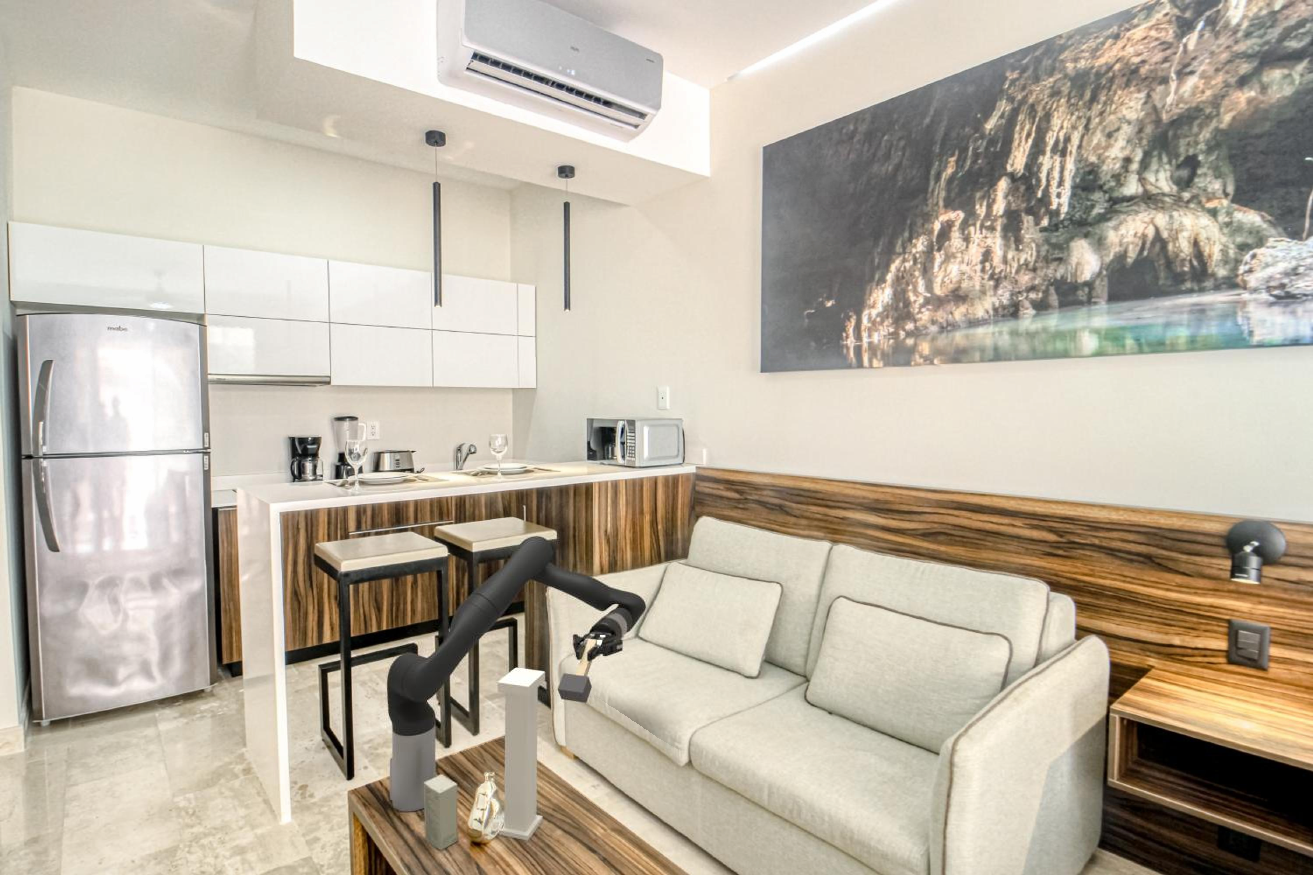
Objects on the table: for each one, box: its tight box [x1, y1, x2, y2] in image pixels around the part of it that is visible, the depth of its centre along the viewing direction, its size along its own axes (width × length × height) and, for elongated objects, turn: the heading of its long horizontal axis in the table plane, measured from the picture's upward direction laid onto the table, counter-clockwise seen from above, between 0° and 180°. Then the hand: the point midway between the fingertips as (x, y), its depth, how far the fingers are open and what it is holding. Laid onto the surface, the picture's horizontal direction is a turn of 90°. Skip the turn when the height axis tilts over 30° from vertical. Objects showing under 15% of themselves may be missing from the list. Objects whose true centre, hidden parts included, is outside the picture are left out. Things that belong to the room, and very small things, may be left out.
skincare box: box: [423, 773, 459, 851], centre depth 138 cm, size 6×4×12 cm
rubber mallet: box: [557, 639, 597, 704], centre depth 153 cm, size 15×6×4 cm
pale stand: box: [497, 667, 546, 842], centre depth 141 cm, size 8×7×33 cm
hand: (583, 656), depth 153 cm, fingers closed on rubber mallet, 2 cm apart
